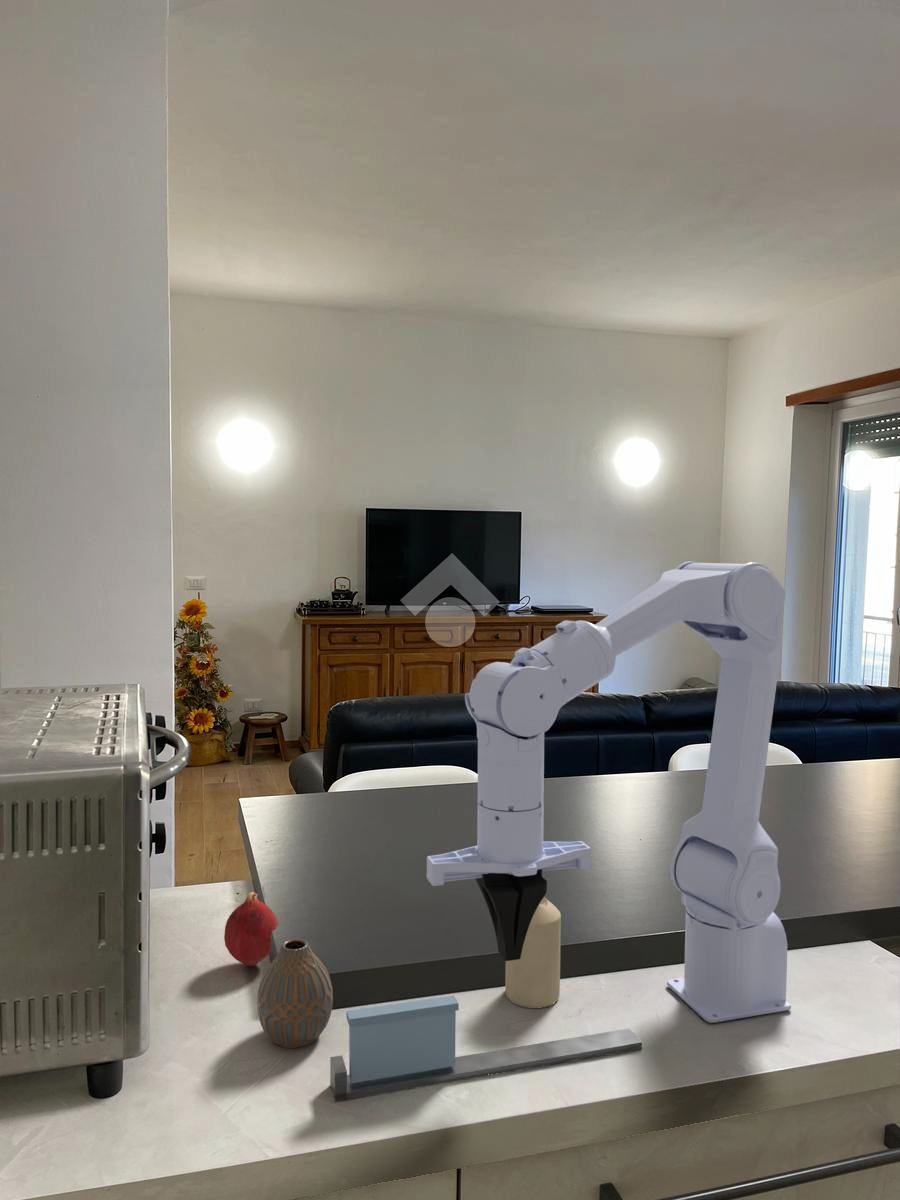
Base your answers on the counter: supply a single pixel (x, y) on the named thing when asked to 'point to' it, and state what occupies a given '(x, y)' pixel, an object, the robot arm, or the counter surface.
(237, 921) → the onion
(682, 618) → the robot arm
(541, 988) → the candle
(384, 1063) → the panel
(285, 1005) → the vase
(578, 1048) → the rail
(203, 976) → the counter surface
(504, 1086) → the counter surface
